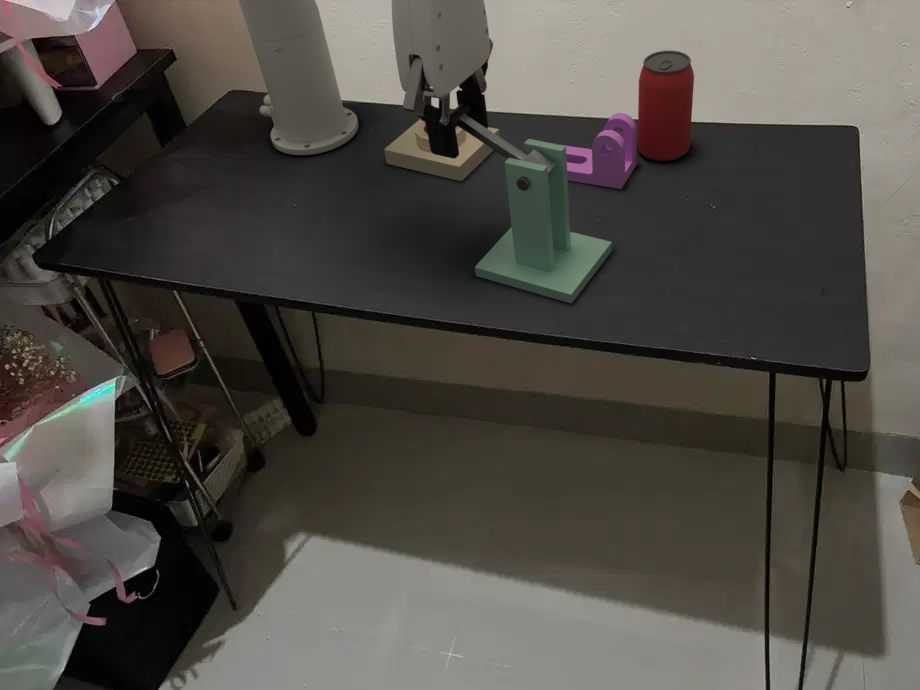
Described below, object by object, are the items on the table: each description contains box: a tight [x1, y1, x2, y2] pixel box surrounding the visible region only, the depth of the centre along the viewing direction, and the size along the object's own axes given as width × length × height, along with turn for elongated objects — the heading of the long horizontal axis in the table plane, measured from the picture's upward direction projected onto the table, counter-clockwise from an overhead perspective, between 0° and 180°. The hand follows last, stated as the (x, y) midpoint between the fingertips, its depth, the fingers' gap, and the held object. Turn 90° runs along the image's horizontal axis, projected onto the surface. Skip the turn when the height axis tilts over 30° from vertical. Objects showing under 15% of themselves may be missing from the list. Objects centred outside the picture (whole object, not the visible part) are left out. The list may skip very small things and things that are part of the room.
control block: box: [383, 118, 501, 182], centre depth 111 cm, size 12×10×4 cm
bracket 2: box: [561, 112, 638, 190], centre depth 104 cm, size 13×6×7 cm, turn 64°
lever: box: [449, 100, 556, 181], centre depth 86 cm, size 12×5×2 cm, turn 60°
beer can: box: [637, 50, 695, 162], centre depth 104 cm, size 7×7×12 cm
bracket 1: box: [474, 138, 613, 305], centre depth 89 cm, size 12×10×14 cm
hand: (460, 139), depth 88 cm, fingers closed on lever, 5 cm apart
